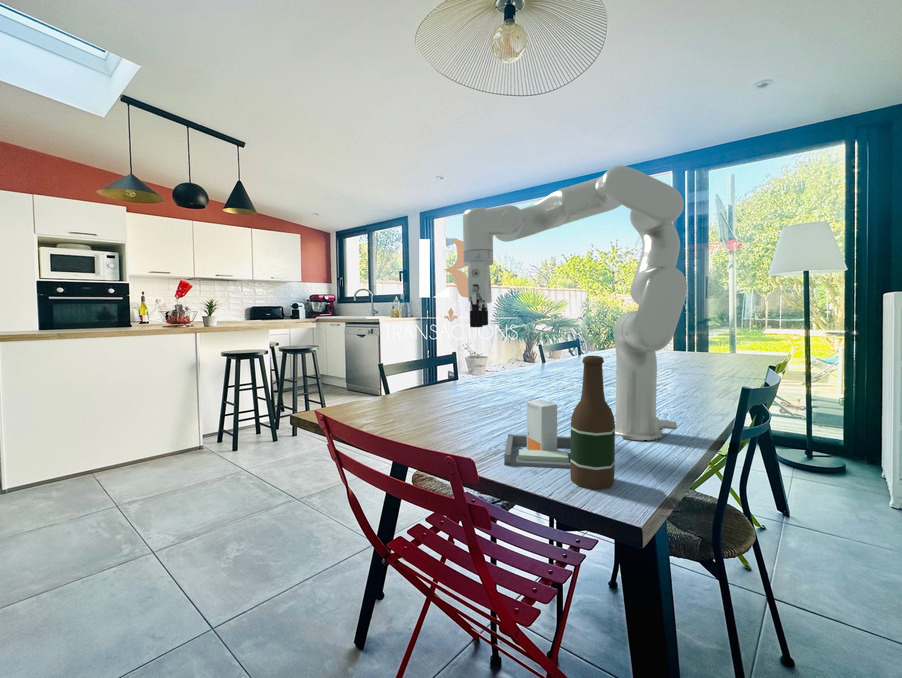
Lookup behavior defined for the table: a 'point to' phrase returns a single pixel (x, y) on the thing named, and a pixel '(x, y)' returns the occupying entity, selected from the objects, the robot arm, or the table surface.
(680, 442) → the table surface
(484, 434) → the table surface
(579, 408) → the beer bottle
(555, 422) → the skincare box
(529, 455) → the upper offcut
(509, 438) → the grey tray
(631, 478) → the table surface
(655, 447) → the table surface
